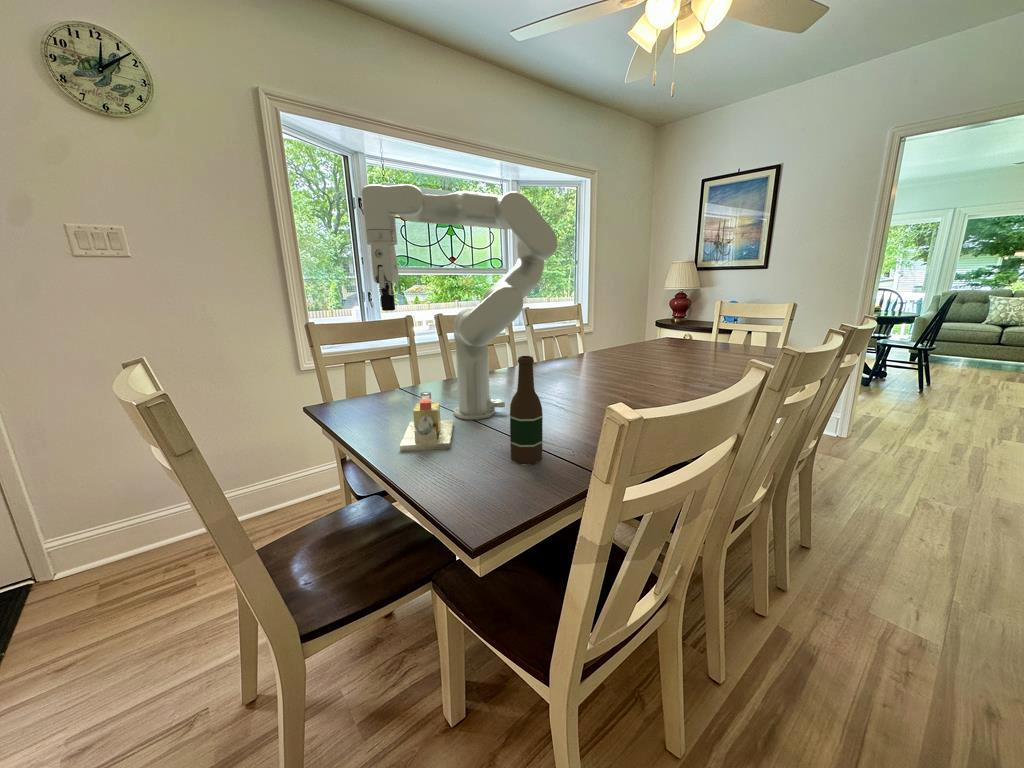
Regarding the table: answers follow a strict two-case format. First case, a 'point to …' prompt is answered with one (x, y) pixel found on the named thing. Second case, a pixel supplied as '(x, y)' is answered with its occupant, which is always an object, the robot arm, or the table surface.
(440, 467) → the table surface
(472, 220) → the robot arm
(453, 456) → the table surface
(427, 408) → the valve lever
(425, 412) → the valve stand
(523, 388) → the beer bottle
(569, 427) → the table surface
